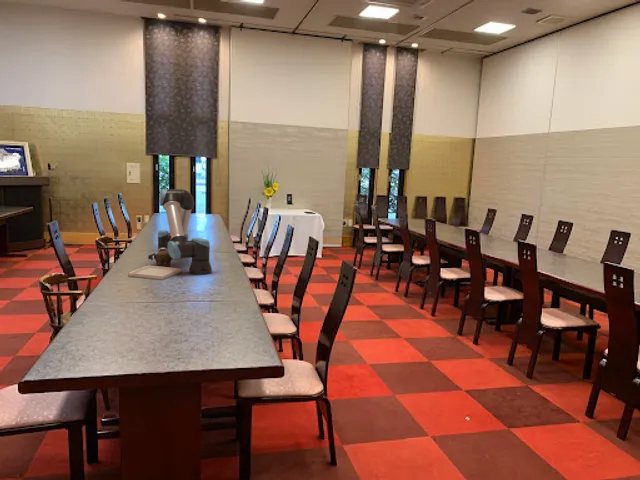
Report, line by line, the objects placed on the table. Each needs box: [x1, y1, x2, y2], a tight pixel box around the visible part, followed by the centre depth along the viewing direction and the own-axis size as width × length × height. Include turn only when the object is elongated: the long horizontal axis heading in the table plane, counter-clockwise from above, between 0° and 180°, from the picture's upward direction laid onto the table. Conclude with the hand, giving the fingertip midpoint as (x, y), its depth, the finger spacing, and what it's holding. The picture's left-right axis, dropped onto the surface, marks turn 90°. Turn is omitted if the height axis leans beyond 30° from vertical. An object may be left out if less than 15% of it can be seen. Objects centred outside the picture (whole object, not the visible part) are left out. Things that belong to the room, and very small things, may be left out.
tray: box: [127, 265, 182, 281], centre depth 310 cm, size 24×24×2 cm
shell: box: [154, 250, 173, 268], centre depth 330 cm, size 11×11×12 cm
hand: (163, 259), depth 328 cm, fingers open, 13 cm apart
